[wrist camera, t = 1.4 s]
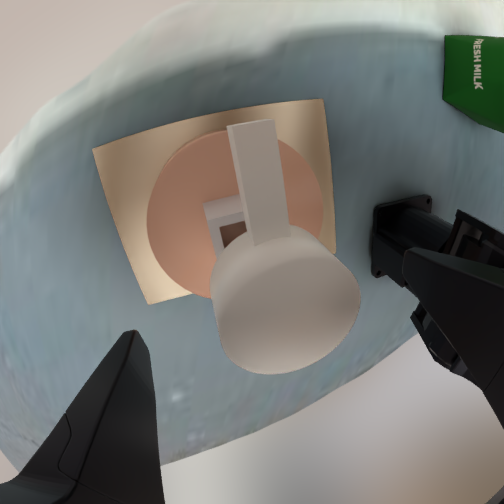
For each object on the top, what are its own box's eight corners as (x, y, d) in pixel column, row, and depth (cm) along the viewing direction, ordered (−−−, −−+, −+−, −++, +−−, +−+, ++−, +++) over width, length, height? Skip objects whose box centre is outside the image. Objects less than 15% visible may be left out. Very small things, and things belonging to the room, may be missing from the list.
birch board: (318, 98, 16) (323, 98, 15) (332, 249, 21) (336, 253, 20) (95, 148, 14) (92, 149, 13) (148, 299, 19) (148, 304, 19)
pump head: (282, 113, 9) (357, 113, 5) (302, 275, 13) (355, 347, 8) (172, 135, 9) (161, 146, 5) (216, 299, 12) (237, 387, 8)
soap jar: (288, 117, 15) (339, 119, 10) (304, 249, 20) (346, 297, 14) (135, 151, 14) (110, 168, 9) (177, 284, 18) (179, 347, 13)
